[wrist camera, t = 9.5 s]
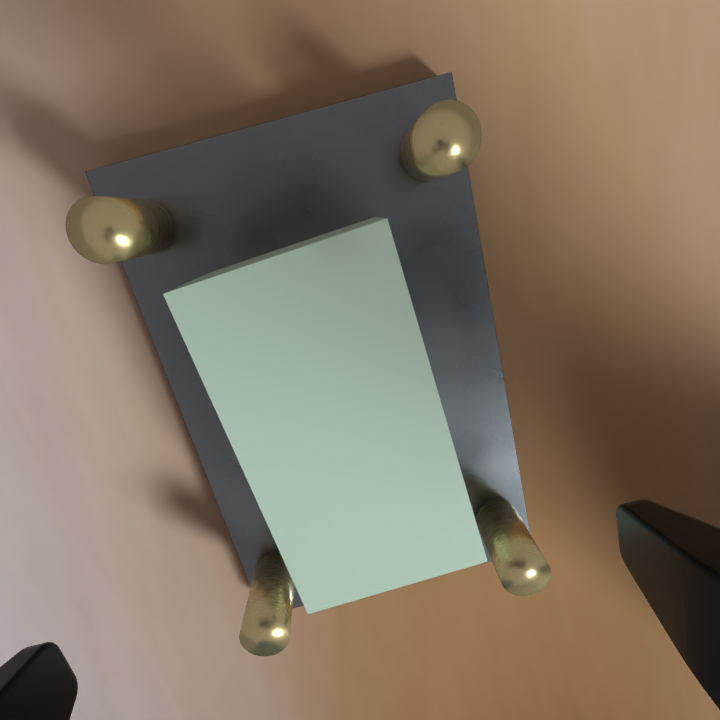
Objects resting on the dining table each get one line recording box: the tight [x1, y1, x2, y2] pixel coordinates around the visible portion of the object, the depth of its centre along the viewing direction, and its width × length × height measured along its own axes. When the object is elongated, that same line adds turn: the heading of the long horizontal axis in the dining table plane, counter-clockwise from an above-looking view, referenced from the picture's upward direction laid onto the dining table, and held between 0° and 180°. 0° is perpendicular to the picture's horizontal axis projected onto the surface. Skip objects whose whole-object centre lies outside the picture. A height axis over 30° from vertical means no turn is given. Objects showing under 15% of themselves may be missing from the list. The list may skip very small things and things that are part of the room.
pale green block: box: [163, 217, 488, 614], centre depth 14 cm, size 6×10×4 cm, turn 18°
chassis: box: [66, 72, 551, 656], centre depth 15 cm, size 11×17×4 cm, turn 14°
